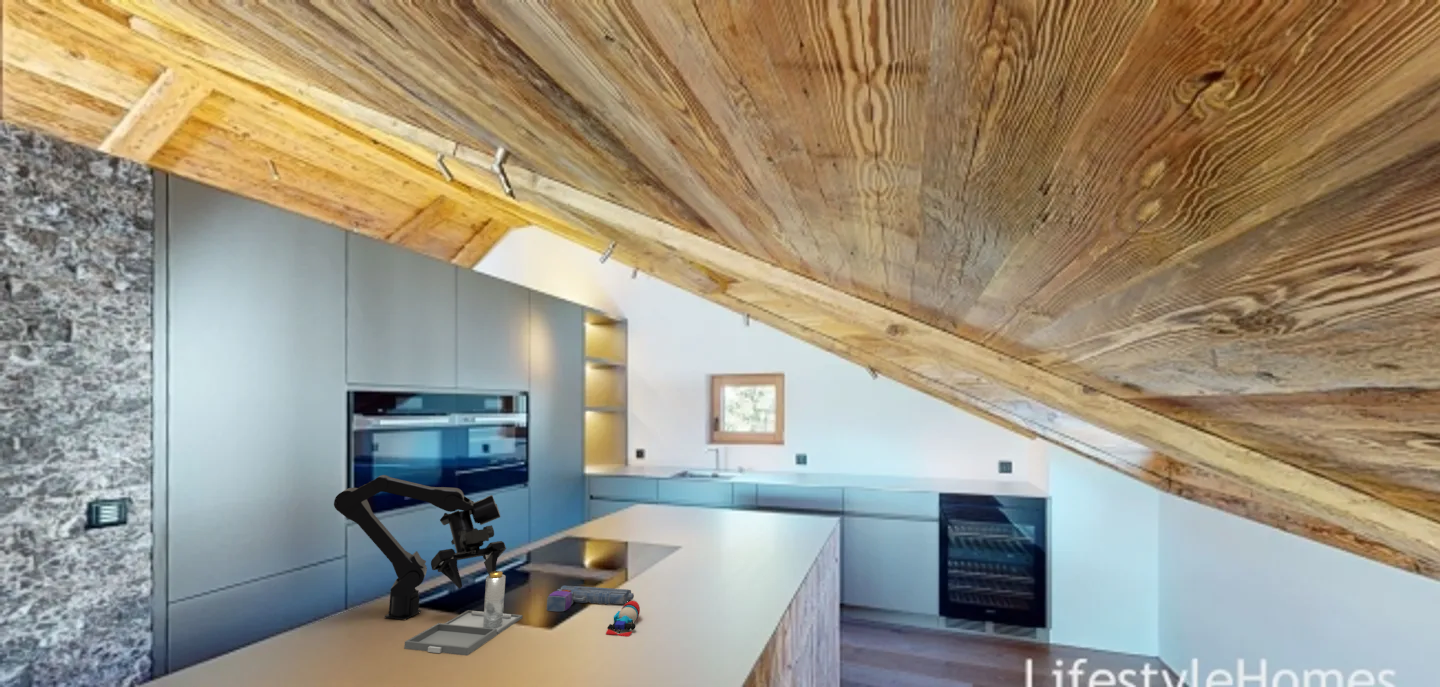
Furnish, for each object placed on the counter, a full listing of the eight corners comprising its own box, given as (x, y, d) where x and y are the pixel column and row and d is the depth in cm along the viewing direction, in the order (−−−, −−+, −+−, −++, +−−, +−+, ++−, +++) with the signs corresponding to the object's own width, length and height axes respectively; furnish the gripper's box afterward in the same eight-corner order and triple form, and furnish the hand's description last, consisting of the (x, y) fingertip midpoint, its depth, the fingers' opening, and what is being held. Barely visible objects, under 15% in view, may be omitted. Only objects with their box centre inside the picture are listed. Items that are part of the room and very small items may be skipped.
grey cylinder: (479, 627, 149) (482, 574, 150) (489, 621, 154) (492, 569, 155) (496, 629, 148) (499, 575, 149) (505, 623, 153) (509, 570, 154)
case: (401, 654, 136) (402, 642, 136) (437, 633, 148) (438, 623, 148) (465, 661, 133) (466, 649, 133) (496, 639, 145) (497, 628, 145)
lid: (437, 633, 148) (437, 624, 148) (467, 616, 160) (468, 607, 160) (495, 639, 145) (496, 630, 145) (522, 621, 157) (522, 612, 158)
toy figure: (632, 644, 149) (648, 613, 163) (630, 625, 148) (646, 595, 163) (603, 644, 150) (621, 613, 165) (601, 625, 149) (620, 596, 164)
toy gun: (621, 599, 163) (636, 585, 178) (540, 594, 166) (561, 581, 181) (620, 616, 163) (635, 601, 177) (539, 611, 166) (560, 596, 180)
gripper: (442, 519, 155) (456, 575, 147) (507, 512, 169) (523, 562, 162) (424, 542, 160) (437, 597, 152) (489, 532, 174) (504, 583, 166)
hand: (477, 584), depth 158 cm, fingers open, 9 cm apart
